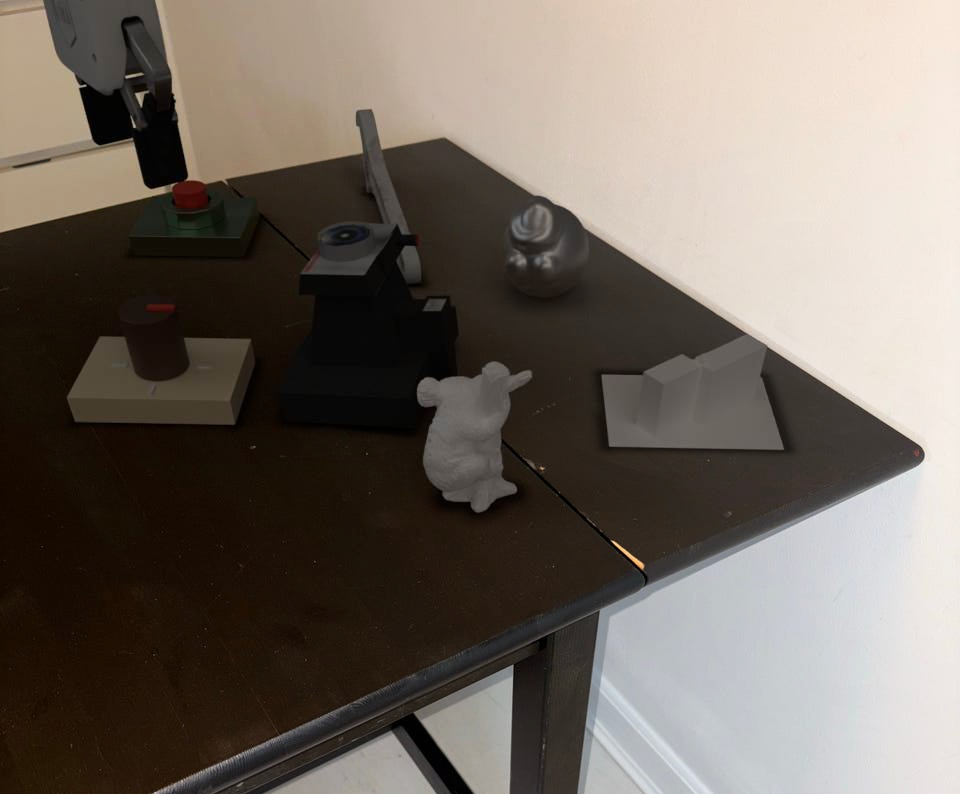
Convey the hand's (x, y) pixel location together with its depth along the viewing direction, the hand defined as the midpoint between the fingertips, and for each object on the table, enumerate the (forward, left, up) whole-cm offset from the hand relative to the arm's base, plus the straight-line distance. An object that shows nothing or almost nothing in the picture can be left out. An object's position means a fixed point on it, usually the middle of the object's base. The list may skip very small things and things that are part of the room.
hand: (140, 161), depth 74 cm
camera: (+17, +3, -21) cm, 27 cm away
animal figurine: (+25, -13, -21) cm, 35 cm away
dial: (-3, +1, -18) cm, 18 cm away
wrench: (+14, +35, -21) cm, 43 cm away
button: (-7, +32, -17) cm, 37 cm away
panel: (-3, +1, -20) cm, 21 cm away
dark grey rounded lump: (+31, +20, -21) cm, 42 cm away
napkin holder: (+44, -1, -21) cm, 49 cm away
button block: (-7, +32, -20) cm, 38 cm away
